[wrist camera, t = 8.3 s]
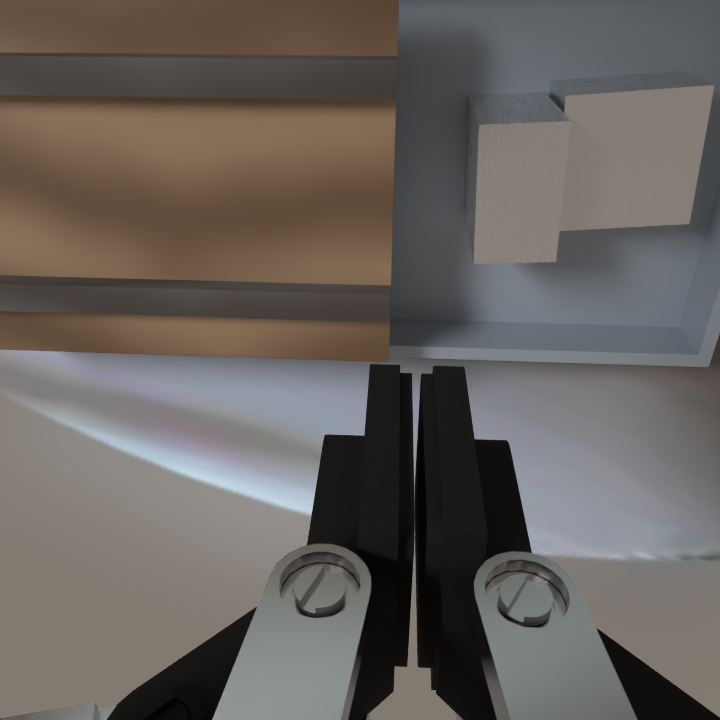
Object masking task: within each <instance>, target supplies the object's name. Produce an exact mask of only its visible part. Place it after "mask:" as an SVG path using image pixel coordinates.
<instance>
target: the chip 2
mask: <svg viewBox="0 0 720 720" xmlns="http://www.w3.org/2000/svg"><path fill="white" fill-rule="evenodd" d="M714 86H715V85H714V84H712V83H709V82H707V81H705V80H703V79H701V78H699V77H697V76H695V75H693V74H690V73H688V72H686V71H672V72H658V73H645V74H632V75H619V76H605V77H592V78H579V79H566V80H552V81H550V91H549V97H550V98H551V99H552V100H553V101H554V102H555V104H556V105H557V106H558V107H559V108H560V109H561V110H562V111H563V112H564V114H565V115H566V116H567V117H568V118H569V119H570V120H571V128H570V138H569V147H568V156H567V165H566V175H565V184H564V193H563V202H562V211H561V221H560V230H559V231H571V230H589V229H607V228H625V227H644V226H662V225H680V224H689V223H690V218H691V212H692V207H693V201H694V196H695V190H696V185H697V179H698V174H699V168H700V163H701V157H702V152H703V146H704V141H705V135H706V130H707V124H708V119H709V113H710V108H711V102H712V97H713V91H714Z"/></svg>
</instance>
